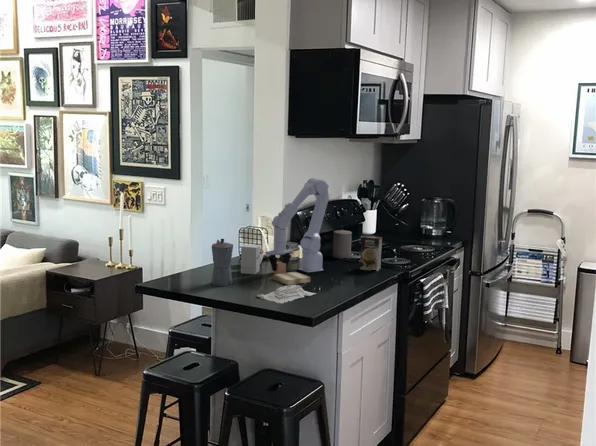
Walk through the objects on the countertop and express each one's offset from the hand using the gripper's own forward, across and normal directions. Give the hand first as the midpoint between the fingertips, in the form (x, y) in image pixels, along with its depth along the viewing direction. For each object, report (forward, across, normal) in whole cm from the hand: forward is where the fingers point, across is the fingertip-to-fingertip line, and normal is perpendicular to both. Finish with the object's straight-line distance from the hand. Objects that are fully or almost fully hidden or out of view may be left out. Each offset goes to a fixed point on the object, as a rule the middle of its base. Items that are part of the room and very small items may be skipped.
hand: (279, 270), depth 291 cm
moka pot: (+2, +33, +5) cm, 33 cm away
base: (+1, +3, +15) cm, 15 cm away
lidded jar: (+2, +3, -20) cm, 20 cm away
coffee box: (+2, -44, +14) cm, 46 cm away
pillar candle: (+2, -50, -16) cm, 53 cm away
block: (+2, 0, 0) cm, 2 cm away
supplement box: (+2, +11, -8) cm, 14 cm away
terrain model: (+2, +19, +35) cm, 40 cm away
